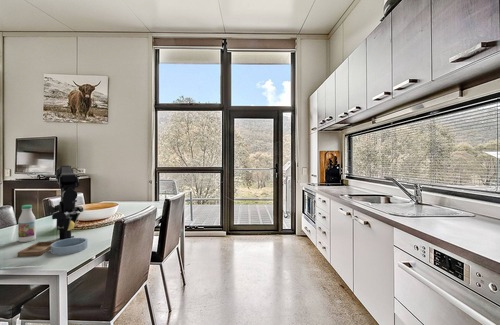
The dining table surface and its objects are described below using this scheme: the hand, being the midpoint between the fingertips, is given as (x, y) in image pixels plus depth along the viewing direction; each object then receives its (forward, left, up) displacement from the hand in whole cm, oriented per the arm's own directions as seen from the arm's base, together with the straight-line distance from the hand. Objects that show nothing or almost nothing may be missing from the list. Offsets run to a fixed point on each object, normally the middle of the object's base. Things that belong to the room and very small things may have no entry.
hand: (68, 229), depth 137 cm
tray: (0, -14, -11) cm, 18 cm away
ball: (0, 0, -1) cm, 1 cm away
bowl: (0, 0, -11) cm, 11 cm away
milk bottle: (-20, -32, -11) cm, 39 cm away
